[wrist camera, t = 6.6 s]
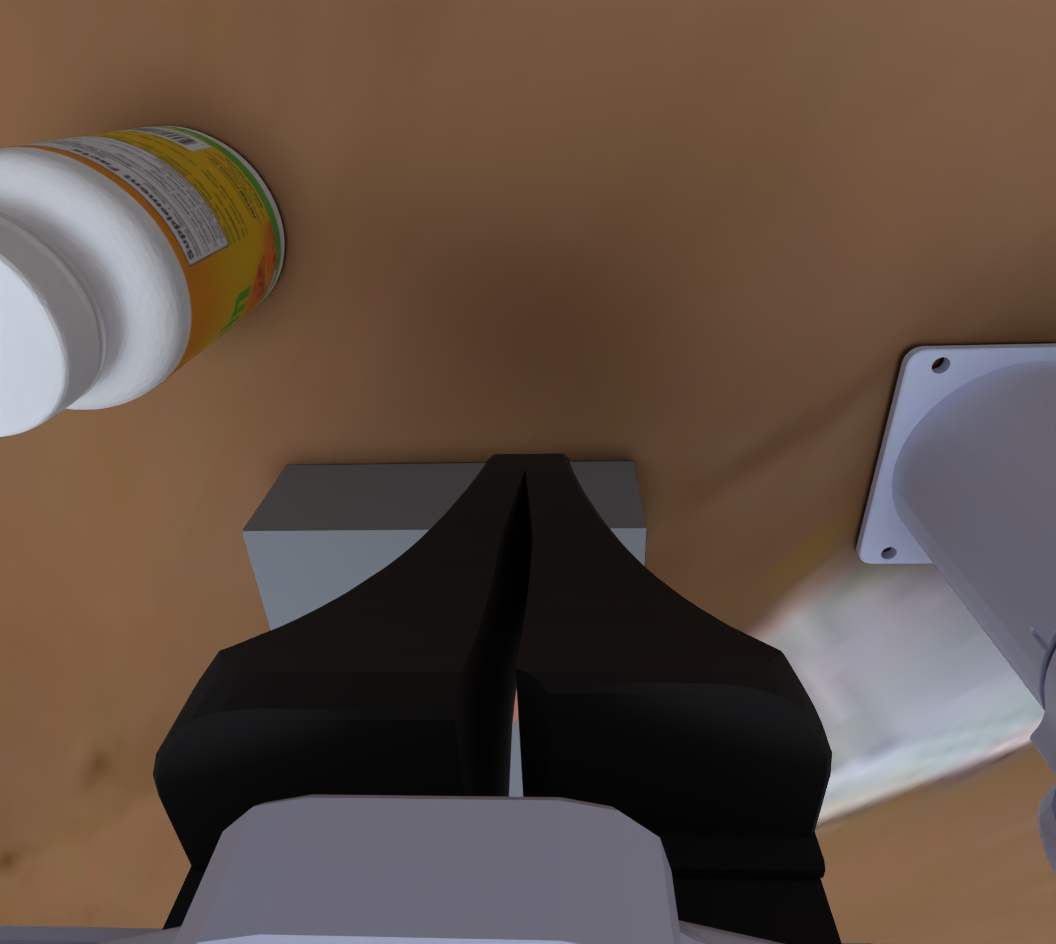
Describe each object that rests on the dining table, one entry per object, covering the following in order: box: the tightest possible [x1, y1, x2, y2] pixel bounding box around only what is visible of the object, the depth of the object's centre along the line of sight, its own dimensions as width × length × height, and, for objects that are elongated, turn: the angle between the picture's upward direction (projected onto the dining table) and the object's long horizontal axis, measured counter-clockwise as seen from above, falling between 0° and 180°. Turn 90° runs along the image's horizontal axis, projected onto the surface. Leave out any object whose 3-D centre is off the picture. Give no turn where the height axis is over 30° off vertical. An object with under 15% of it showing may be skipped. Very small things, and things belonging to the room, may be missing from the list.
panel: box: [242, 461, 647, 797], centre depth 27 cm, size 12×20×4 cm, turn 2°
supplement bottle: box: [0, 126, 285, 437], centre depth 16 cm, size 5×5×10 cm
